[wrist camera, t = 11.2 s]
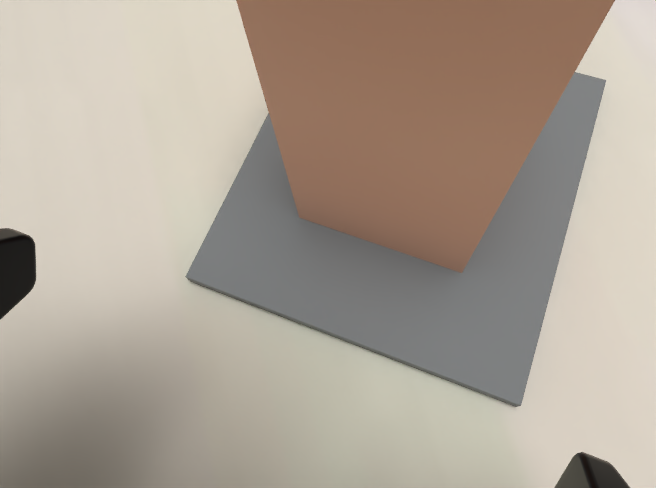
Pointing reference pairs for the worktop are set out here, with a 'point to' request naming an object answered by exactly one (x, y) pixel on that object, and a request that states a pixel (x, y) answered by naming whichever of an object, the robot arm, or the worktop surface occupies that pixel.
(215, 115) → the worktop surface
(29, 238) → the robot arm
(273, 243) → the rubber mat
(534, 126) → the salmon pink pillar
